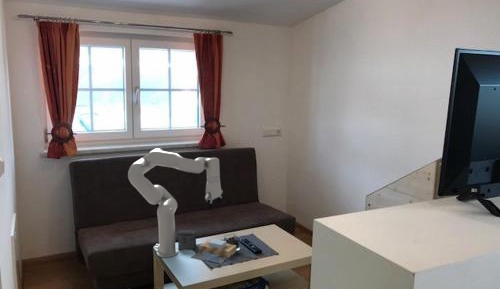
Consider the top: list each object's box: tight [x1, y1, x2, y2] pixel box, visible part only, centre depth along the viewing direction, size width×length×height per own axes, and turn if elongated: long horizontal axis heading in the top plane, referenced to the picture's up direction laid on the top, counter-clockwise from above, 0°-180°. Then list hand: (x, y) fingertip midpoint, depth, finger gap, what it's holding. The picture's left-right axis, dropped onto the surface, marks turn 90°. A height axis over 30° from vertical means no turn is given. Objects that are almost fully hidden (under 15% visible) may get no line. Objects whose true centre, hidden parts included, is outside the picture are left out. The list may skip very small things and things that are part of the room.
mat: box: [190, 250, 229, 265], centre depth 227 cm, size 20×9×1 cm, turn 65°
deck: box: [198, 239, 237, 259], centre depth 235 cm, size 20×10×4 cm, turn 65°
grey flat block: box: [208, 238, 227, 249], centre depth 234 cm, size 9×6×2 cm, turn 65°
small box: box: [177, 229, 197, 251], centre depth 240 cm, size 11×6×10 cm, turn 92°
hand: (214, 207), depth 229 cm, fingers open, 9 cm apart
